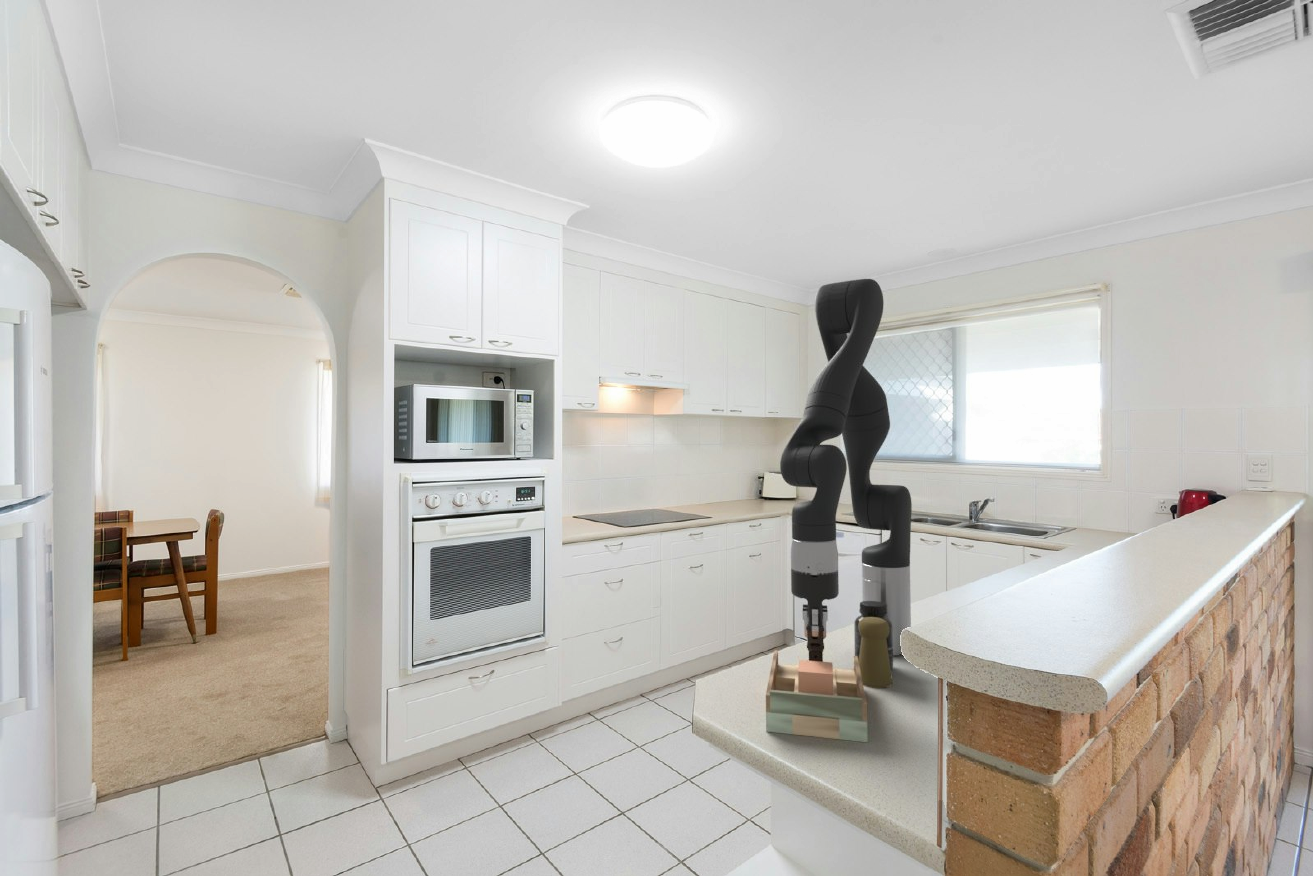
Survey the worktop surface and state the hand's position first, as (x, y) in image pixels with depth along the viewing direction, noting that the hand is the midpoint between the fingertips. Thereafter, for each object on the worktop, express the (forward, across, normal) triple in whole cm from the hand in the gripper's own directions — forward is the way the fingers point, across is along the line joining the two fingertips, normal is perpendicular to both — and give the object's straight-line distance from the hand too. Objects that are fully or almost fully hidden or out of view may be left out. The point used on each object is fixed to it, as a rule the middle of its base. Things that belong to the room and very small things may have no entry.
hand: (815, 672), depth 101 cm
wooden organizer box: (+4, +3, 0) cm, 5 cm away
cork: (+5, -10, +10) cm, 15 cm away
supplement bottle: (+5, -17, +10) cm, 20 cm away
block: (+1, +8, 0) cm, 8 cm away
